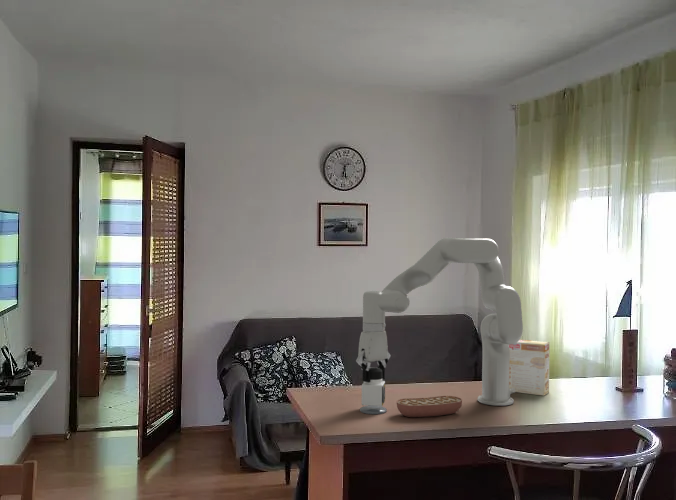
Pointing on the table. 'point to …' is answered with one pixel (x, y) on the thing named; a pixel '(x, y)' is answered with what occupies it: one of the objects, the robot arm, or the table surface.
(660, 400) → the table surface
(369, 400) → the medicine bottle
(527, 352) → the coffeecake box
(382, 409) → the coaster
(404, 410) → the oval dish
